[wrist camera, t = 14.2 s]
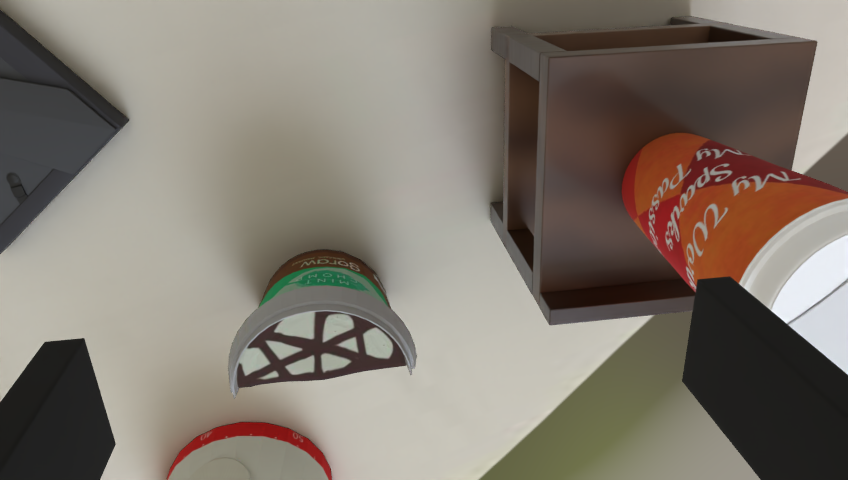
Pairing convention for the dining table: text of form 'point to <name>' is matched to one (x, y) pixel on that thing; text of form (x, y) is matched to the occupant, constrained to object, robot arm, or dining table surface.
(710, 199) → the paper cup
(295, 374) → the food container
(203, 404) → the dining table surface
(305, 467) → the kitchen timer
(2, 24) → the picture frame
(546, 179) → the rack
